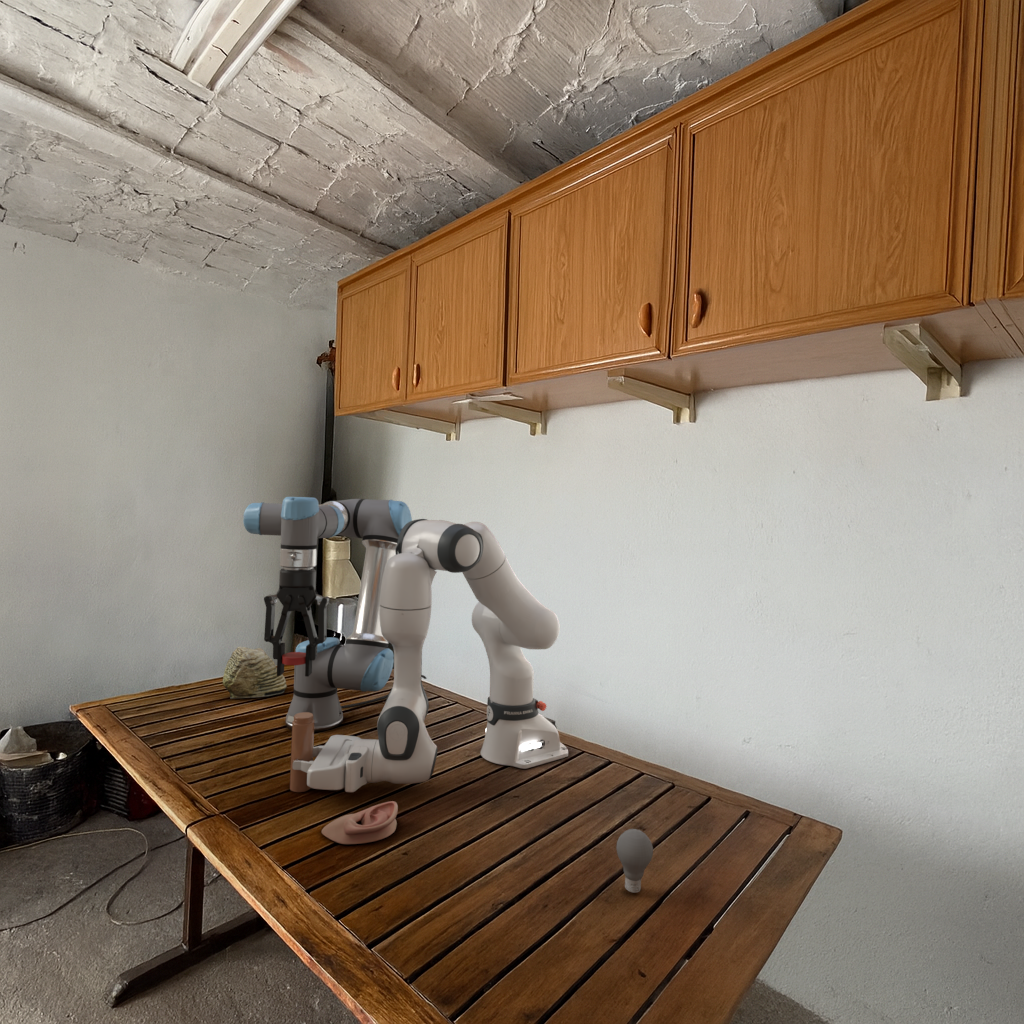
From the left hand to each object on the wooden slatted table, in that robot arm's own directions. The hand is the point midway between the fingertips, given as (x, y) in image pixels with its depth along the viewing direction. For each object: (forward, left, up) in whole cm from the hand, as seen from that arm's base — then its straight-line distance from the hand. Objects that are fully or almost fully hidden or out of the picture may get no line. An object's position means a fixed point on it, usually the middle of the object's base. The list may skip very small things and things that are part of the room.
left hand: (294, 674), depth 138 cm
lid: (0, 0, +4) cm, 4 cm away
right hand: (-1, +2, -18) cm, 18 cm away
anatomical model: (+1, +26, -24) cm, 36 cm away
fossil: (-27, -63, -24) cm, 72 cm away
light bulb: (-17, +74, -24) cm, 80 cm away
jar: (-1, +2, -24) cm, 25 cm away
